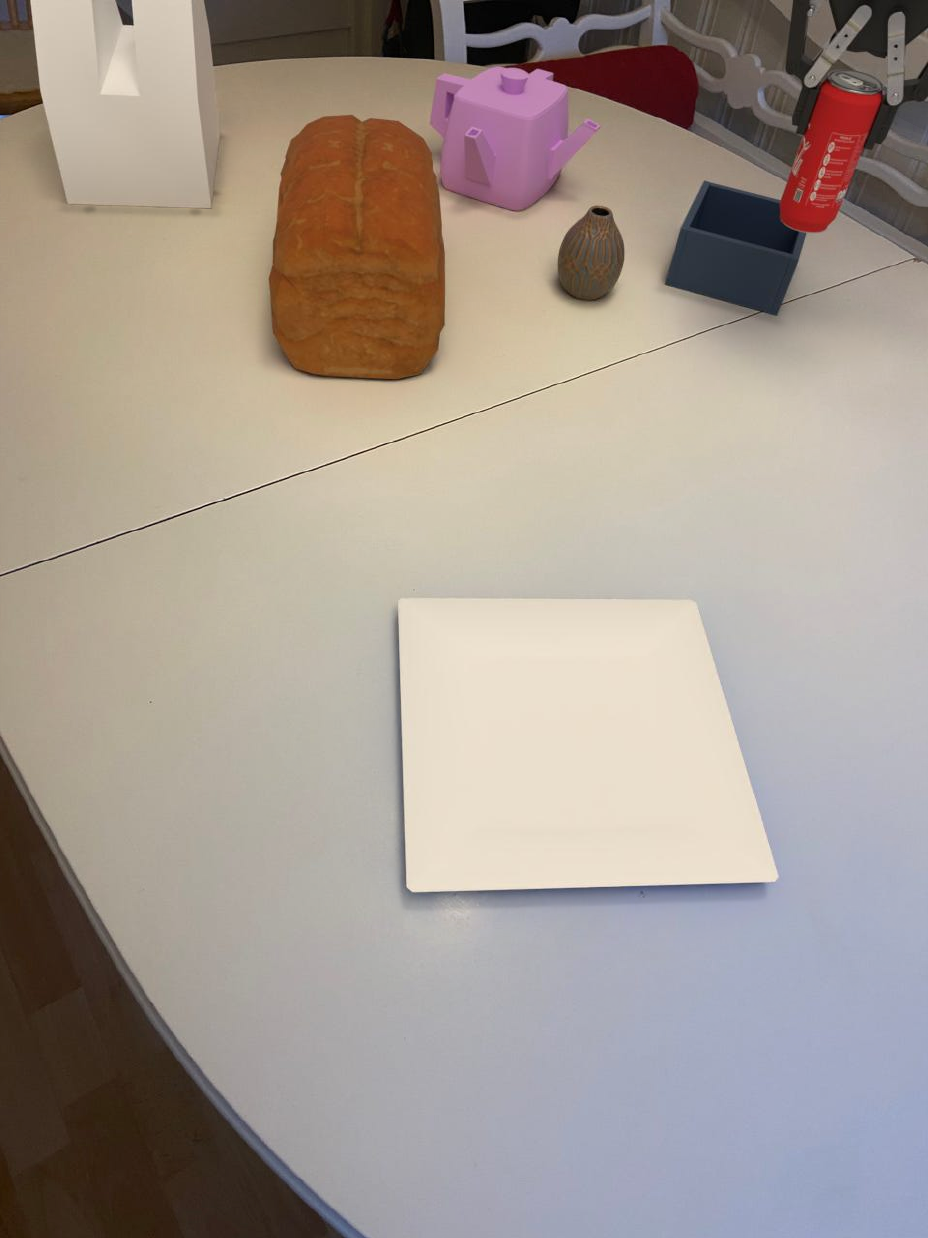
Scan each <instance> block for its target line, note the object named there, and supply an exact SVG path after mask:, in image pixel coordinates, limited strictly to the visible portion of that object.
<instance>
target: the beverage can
mask: <svg viewBox="0 0 928 1238" xmlns="http://www.w3.org/2000/svg"><path fill="white" fill-rule="evenodd" d="M884 90H885V84H884V82H883V81H882V80H880V79H879V78H877V77H876V76H873V75H871V74H870V73H866V72H863V71H860V70H859V71H858V70H853V69H834V70H831V71H829V72H828V73H827V75H826V78H825V79H824V80H823V82H821V85H820V88H819V92H818V95H817V97H816V100H815V103H814V106H813V109H812V112H811V115H810V118H809V121H808V123H807V126H806V129H805V132H804V135H802V136H801V137H802V138H801V140H800V144H799V146H798V149H797V152H796V154H795V158H794V161H793V163H792V167H791V169H790V172H789V176H788V178H787V181H786V184H785V187H784V189H783V192H782V195H781V198H780V200H781V201H780V213H781V214H780V220H781V221H782V222H783V224H785V225H786V226H787V227H789V228H791V229H793V230H796V231H799V232H804V233H807V234H821V233H823V232H825V231H827V228H828V227H829V225H831V223H832V222H834V221H835V220H836V219H837V216H838V213H839V211H840V208H841V206H842V203H843V201H844V199H845V196H846V193H847V192H848V188H849V186H850V184H851V181H852V179H853V176H854V174H855V171H856V168H857V166H858V163H859V161H860V158H861V155H862V154H863V151H864V146H865V143H866V141H867V138H868V136H869V133H870V131H871V128H872V126H873V123H874V121H875V118H876V116H877V113H878V111H879V108H880V105H881V103H882V101H883V95H884Z"/></svg>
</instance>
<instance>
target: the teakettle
mask: <svg viewBox="0 0 928 1238" xmlns="http://www.w3.org/2000/svg"><path fill="white" fill-rule="evenodd" d="M432 99H433V100H432V105H431V112H430V118H429V126H431V127H432V128H433V129H434V131H436V133H438V135H439V136H441V138H442V139H443V141H442V149H441V155H440V164H439V171H440V172H439V173H440V177H441V183H442V186H443V188H444V189H446V190H448V191H451V192H453V193H456V194H459V195H462V196H465V197H468V198H471V199H473V200H477V201H479V202H483V203H486V204H489V205H493V206H495V207H499V208H502V209H506V210H510V211H514V212H520V211H523V210H525V209H528V208H529V207H531V206H532V205H534V204H535V203H537V202H538V201H539V200H541V198H543V197H544V196H545V195H546V194H547V193H548V192H549V191H550V189H551V188H552V187H553V185H554V184H555V182H556V181H557V180H558V178H559V175H560V174H561V171H562V169H563V167H564V166H565V165H566V164H567V163H568V162H569V161H570V160H571V159H572V158H574V156H575V155H576V154H577V153H578V152H579V151H580V150H581V149H582V148H583V146H585V145H586V143H588V142H589V140H590V139H591V138H592V137H593V136H594V135H595V134H596V133H597V132H598V131H599V130H600V128H601V125H600V124H598V123H597V122H595V121H593V120H592V119H589V118H586V119H585V120H584V121H583V122H582V124H581V125H580V126H578V127H577V128H576V129H575V130H574V131H573V132H572V133H570V135H569V122H570V121H569V118H570V117H569V115H570V114H569V89H568V87H567V86H566V84H563V83H560V82H557V81H554V72H551V71H547V70H544V69H540V68H536V69H534V70H533V71H531V72H530V73H528V72H527V71H525V70H524V69H521V68H517V67H504V66H497V65H496V66H493V67H489V68H487V69H486V70H484V71H481V72H480V73H479V74H477V75H475V76H474V77H473V78H471V79H470V78H466V77H462V76H457V75H454V74H449V73H445V72H444V73H443V74H441V75H440V76H438V77H437V78H436V79H435V84H434V92H433V97H432Z"/></svg>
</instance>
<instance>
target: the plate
mask: <svg viewBox="0 0 928 1238" xmlns="http://www.w3.org/2000/svg"><path fill="white" fill-rule="evenodd" d="M397 615H398V616H397V617H398V618H397V619H398V647H399V648H398V649H399V679H400V680H399V682H400V683H399V684H400V715H401V716H400V717H401V718H400V719H401V740H402V741H401V749H402V780H403V783H402V784H403V815H404V844H405V845H404V846H405V848H404V849H405V877H406V878H405V880H406V881H405V882H406V883H405V884H406V888H407V889H408V890H409V891H410V892H411V893H430V892H431V893H433V892H435V893H436V892H437V893H438V892H465V891H466V892H467V891H473V892H474V891H503V890H504V891H505V890H506V891H507V890H538V889H539V890H540V889H543V890H544V889H573V888H577V889H578V888H607V887H608V888H609V887H611V888H612V887H644V886H677V885H680V886H681V885H709V884H710V885H711V884H713V885H714V884H716V885H717V884H718V885H719V884H747V883H748V884H749V883H752V884H753V883H775V882H776V881H777V880H778V879H779V878H780V876H779V873H778V869H777V866H776V863H775V859H774V855H773V853H772V848H771V845H770V843H769V839H768V836H767V833H766V830H765V826H764V822H763V819H762V816H761V812H760V808H759V806H758V803H757V800H756V796H755V793H754V789H753V785H752V782H751V779H750V776H749V773H748V769H747V766H746V763H745V759H744V757H743V753H742V750H741V746H740V743H739V740H738V736H737V733H736V730H735V727H734V722H733V720H732V716H731V713H730V710H729V709H730V708H729V706H728V703H727V699H726V696H725V693H724V690H723V687H722V683H721V679H720V676H719V673H718V669H717V666H716V662H715V660H714V656H713V653H712V650H711V647H710V643H709V639H708V637H707V633H706V629H705V627H704V623H703V620H702V617H701V613H700V610H699V607H698V603H697V602H696V601H694V600H693V599H677V598H676V599H675V598H674V599H671V598H670V599H669V598H668V599H667V598H666V599H663V598H658V599H657V598H655V599H654V598H653V599H652V598H650V599H649V598H646V599H645V598H525V597H524V598H523V597H522V598H521V597H520V598H518V597H517V598H511V597H509V598H508V597H507V598H505V597H500V598H499V597H498V598H497V597H401V598H400V599H398V600H397Z"/></svg>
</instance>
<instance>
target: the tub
mask: <svg viewBox="0 0 928 1238" xmlns="http://www.w3.org/2000/svg"><path fill="white" fill-rule="evenodd" d="M780 201H781V199H778V198H774V197H770V196H765V195H763V194H758V193H754V192H750V191H747V190H742V189H739V188H735V187H731V186H727V185H723V184H720V183H716V182H711V181H708V180H703V182H702V184H701V185H700V188H699V190H698V192H697V194H696V196H695V198H694V200H693V202H692V204H691V206H690V208H689V210H688V213H687V214H686V217H685V218H684V220H683V222H682V224H681V227H680V229H679V232H678V236H677V241H676V244H675V247H674V251H673V254H672V258H671V261H670V265H669V268H668V272H667V274H666V280H665V282H664V284H665V285H666V286H669V287H673V288H676V289H681V290H683V291H687V292H690V293H691V292H692V293H695V294H698V295H701V296H706V297H709V298H712V299H716V300H719V301H722V302H727V303H731V304H735V305H738V306H742V307H745V308H749V309H753V310H756V311H759V312H763V313H767V314H770V315H774V316H778V314H779V312H780V310H781V307H782V305H783V302H784V299H785V296H786V294H787V291H788V289H789V287H790V283H791V281H792V279H793V276H794V273H795V271H796V268H797V266H798V263H799V261H800V257H801V254H802V252H803V251H802V250H803V248H804V244H805V242H806V241H805V240H806V237H807V234H808V233H804V232H799V231H796V230H793V229H791V228H789V227H787V226H786V225H785V224H783V222H782V221H781V220H780V214H781V213H780Z"/></svg>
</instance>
